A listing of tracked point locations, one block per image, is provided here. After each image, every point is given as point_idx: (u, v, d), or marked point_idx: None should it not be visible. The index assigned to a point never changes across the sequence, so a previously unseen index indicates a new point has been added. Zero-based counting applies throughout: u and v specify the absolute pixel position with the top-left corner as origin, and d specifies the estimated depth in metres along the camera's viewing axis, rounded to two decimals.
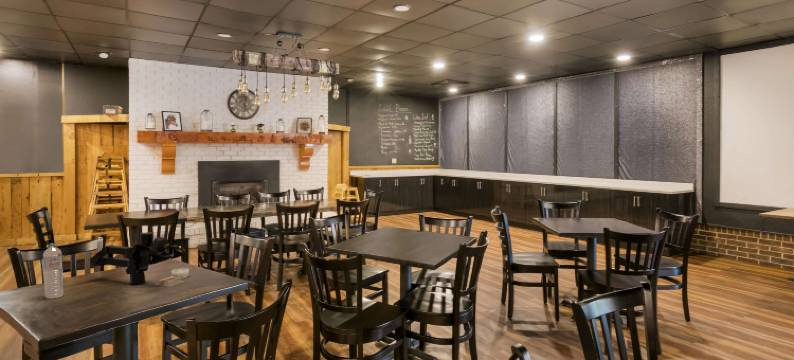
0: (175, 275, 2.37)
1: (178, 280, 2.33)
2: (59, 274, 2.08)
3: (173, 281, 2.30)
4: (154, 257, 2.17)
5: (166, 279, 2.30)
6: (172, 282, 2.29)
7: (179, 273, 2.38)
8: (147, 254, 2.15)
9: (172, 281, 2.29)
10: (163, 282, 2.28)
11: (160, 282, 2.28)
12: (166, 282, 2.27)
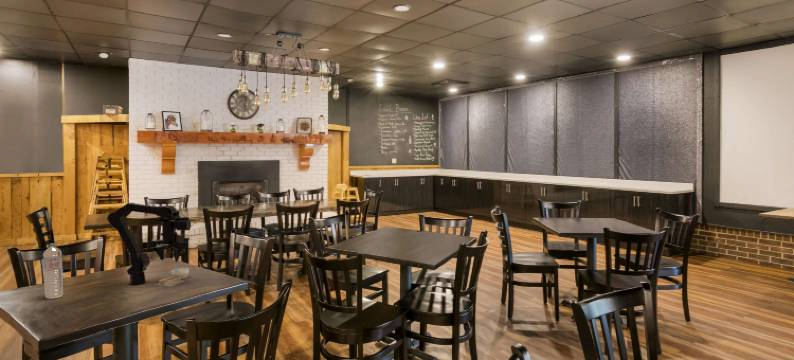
0: (175, 275, 2.37)
1: (178, 280, 2.33)
2: (59, 274, 2.08)
3: (173, 281, 2.30)
4: (180, 249, 2.28)
5: (166, 279, 2.30)
6: (172, 282, 2.29)
7: (179, 273, 2.38)
8: (186, 245, 2.29)
9: (172, 281, 2.29)
10: (163, 282, 2.28)
11: (160, 282, 2.28)
12: (166, 282, 2.27)
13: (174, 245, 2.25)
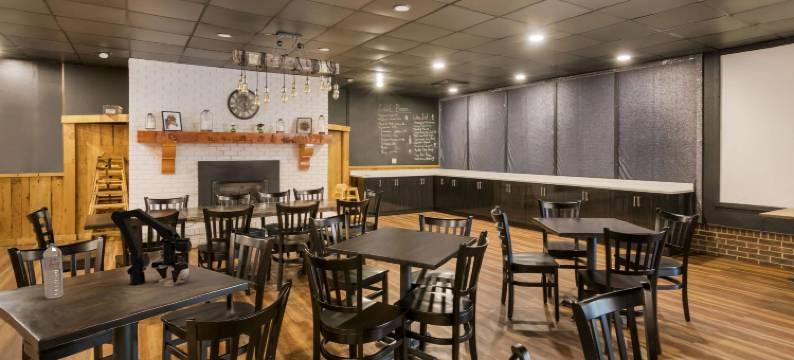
0: None
1: (178, 280, 2.33)
2: (59, 274, 2.08)
3: (173, 281, 2.30)
4: None
5: (166, 279, 2.30)
6: (172, 282, 2.29)
7: (179, 273, 2.38)
8: (187, 266, 2.30)
9: (172, 281, 2.29)
10: (163, 282, 2.28)
11: (160, 282, 2.28)
12: (166, 282, 2.27)
13: (175, 267, 2.26)
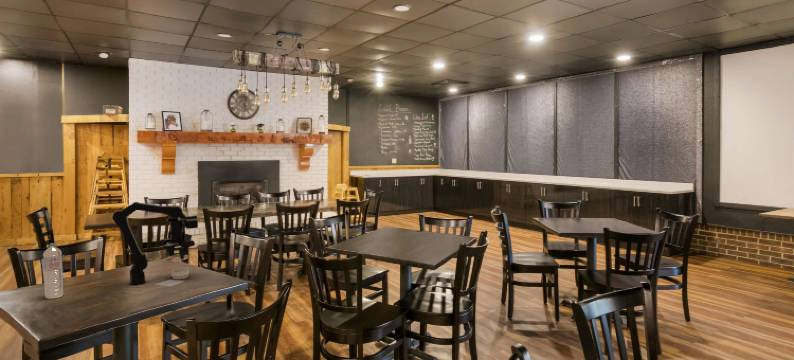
0: (175, 275, 2.37)
1: (185, 257, 2.39)
2: (59, 274, 2.08)
3: (180, 258, 2.36)
4: None
5: (174, 256, 2.37)
6: (179, 259, 2.36)
7: (179, 273, 2.38)
8: (194, 243, 2.36)
9: (179, 258, 2.36)
10: (171, 259, 2.34)
11: (168, 259, 2.35)
12: (173, 259, 2.34)
13: (182, 244, 2.32)
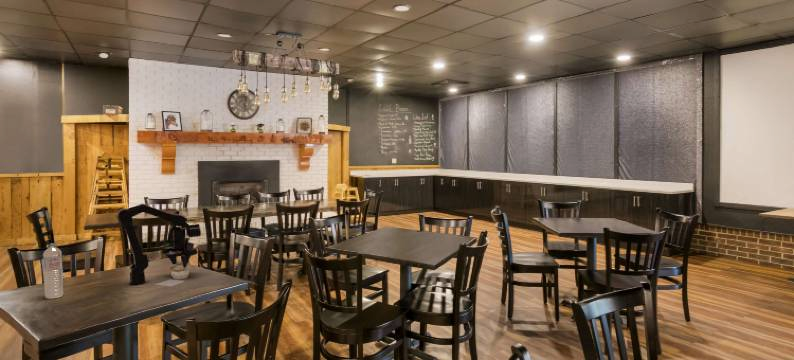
0: (175, 275, 2.37)
1: (188, 265, 2.43)
2: (59, 274, 2.08)
3: None
4: None
5: (176, 264, 2.40)
6: (182, 267, 2.39)
7: (179, 273, 2.38)
8: (196, 252, 2.40)
9: (182, 266, 2.39)
10: (173, 267, 2.38)
11: (170, 267, 2.38)
12: (176, 267, 2.37)
13: (185, 252, 2.36)
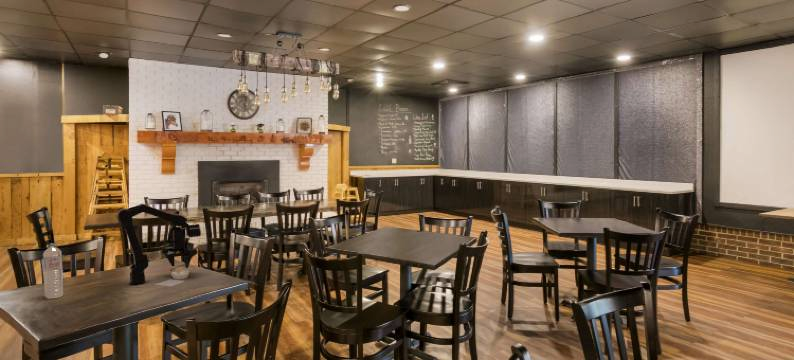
0: (175, 275, 2.37)
1: (188, 267, 2.43)
2: (59, 274, 2.08)
3: (183, 268, 2.40)
4: None
5: (176, 266, 2.40)
6: (182, 269, 2.39)
7: (179, 273, 2.38)
8: (196, 252, 2.40)
9: (182, 268, 2.39)
10: (173, 269, 2.38)
11: (171, 269, 2.38)
12: (176, 269, 2.37)
13: (185, 252, 2.36)
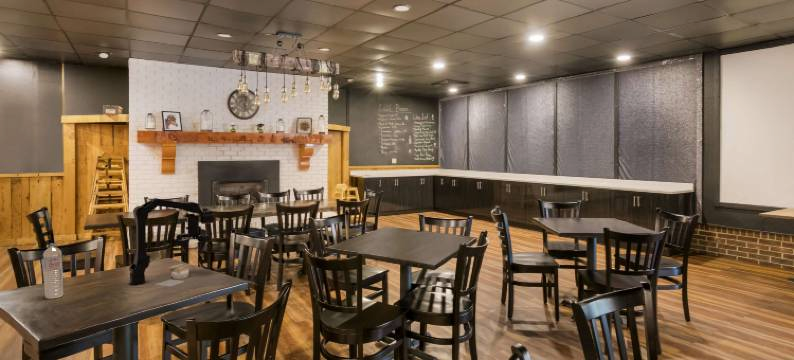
0: (175, 275, 2.37)
1: (188, 267, 2.43)
2: (59, 274, 2.08)
3: (183, 268, 2.40)
4: (204, 242, 2.46)
5: (176, 266, 2.40)
6: (182, 269, 2.39)
7: (179, 273, 2.38)
8: (210, 238, 2.47)
9: (182, 268, 2.39)
10: (173, 269, 2.38)
11: (171, 269, 2.38)
12: (176, 269, 2.37)
13: (199, 238, 2.43)
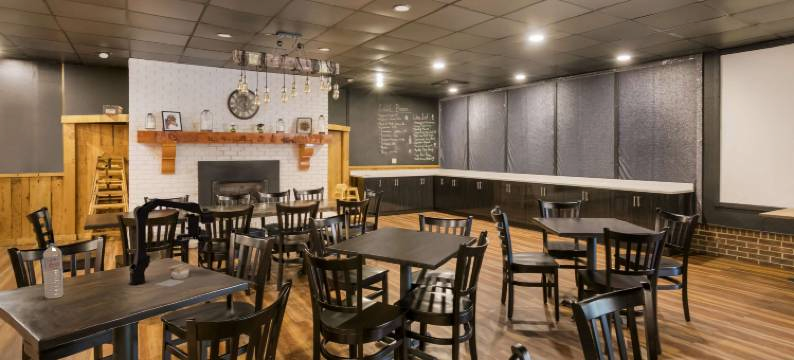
0: (175, 275, 2.37)
1: (188, 267, 2.43)
2: (59, 274, 2.08)
3: (183, 268, 2.40)
4: None
5: (176, 266, 2.40)
6: (182, 269, 2.39)
7: (179, 273, 2.38)
8: (210, 238, 2.47)
9: (182, 268, 2.39)
10: (173, 269, 2.38)
11: (171, 269, 2.38)
12: (176, 269, 2.37)
13: (199, 238, 2.43)
